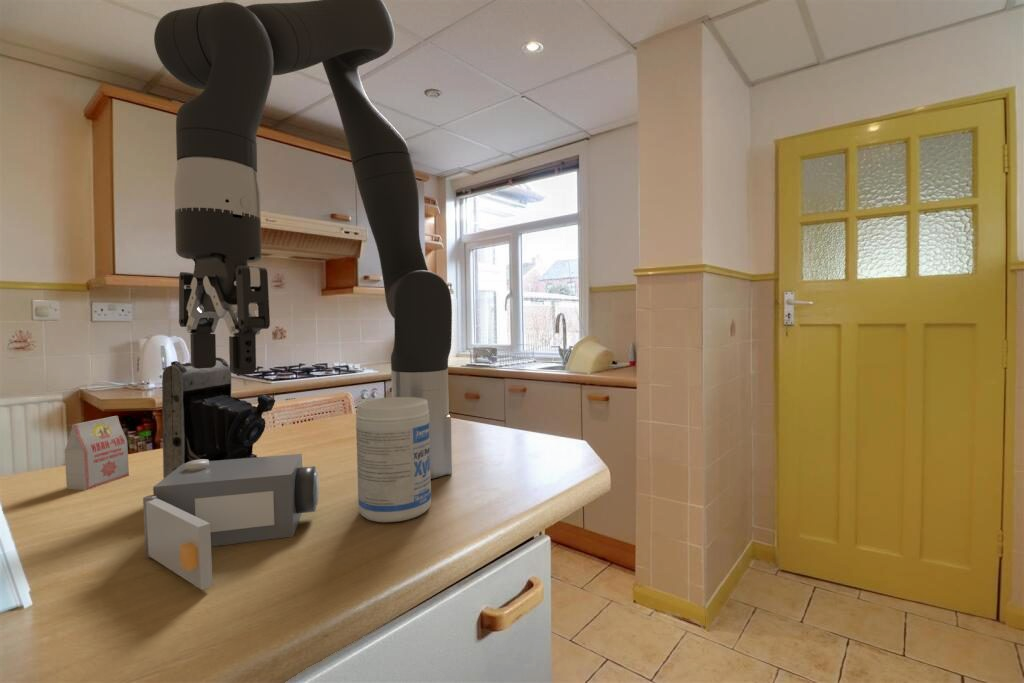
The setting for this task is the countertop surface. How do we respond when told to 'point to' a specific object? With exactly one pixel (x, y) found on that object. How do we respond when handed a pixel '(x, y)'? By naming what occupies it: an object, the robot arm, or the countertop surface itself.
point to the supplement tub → (393, 458)
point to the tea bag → (96, 454)
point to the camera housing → (244, 496)
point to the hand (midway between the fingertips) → (222, 370)
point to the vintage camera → (207, 416)
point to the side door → (178, 541)
